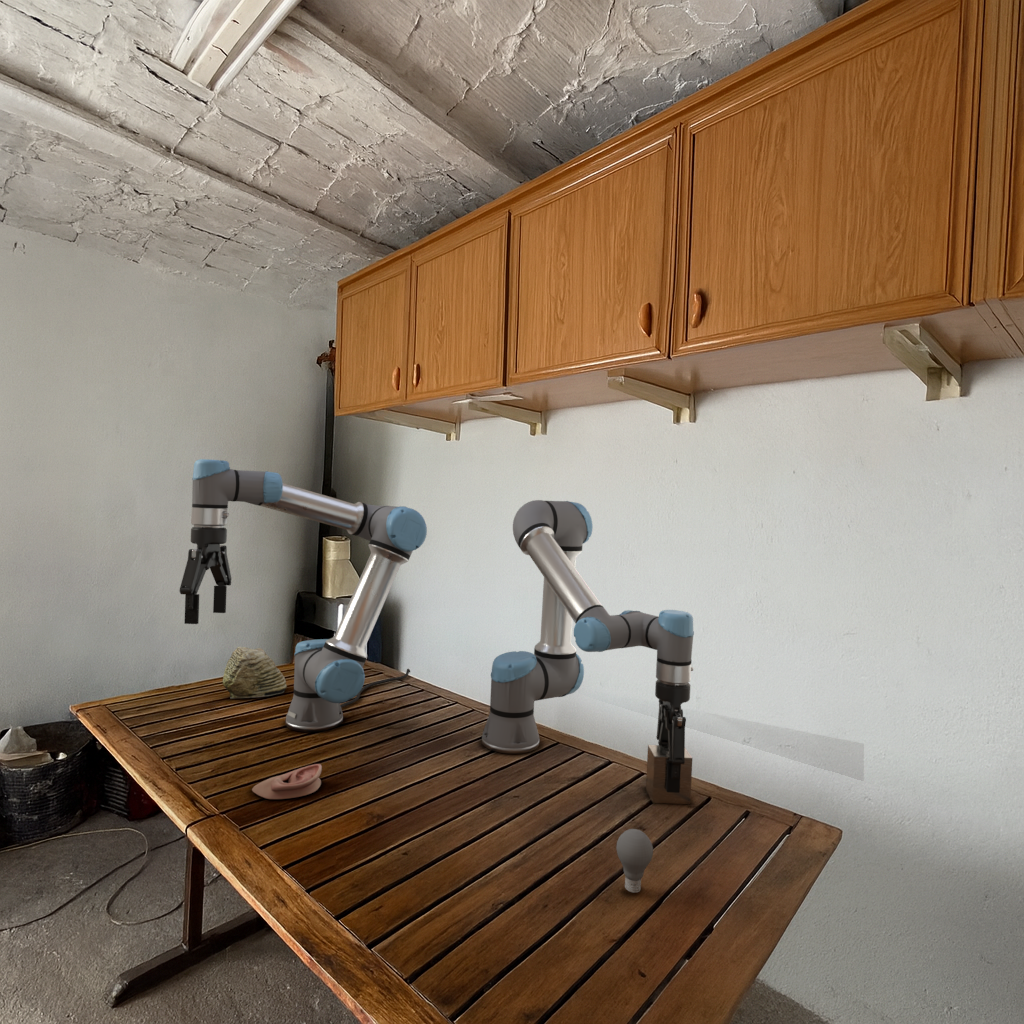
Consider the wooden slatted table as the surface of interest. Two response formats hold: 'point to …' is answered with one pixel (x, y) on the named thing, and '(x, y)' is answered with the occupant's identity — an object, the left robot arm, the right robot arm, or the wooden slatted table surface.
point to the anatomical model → (291, 783)
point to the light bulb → (634, 857)
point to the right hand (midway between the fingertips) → (668, 783)
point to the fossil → (252, 674)
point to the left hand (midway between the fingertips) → (206, 618)
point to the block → (658, 777)
